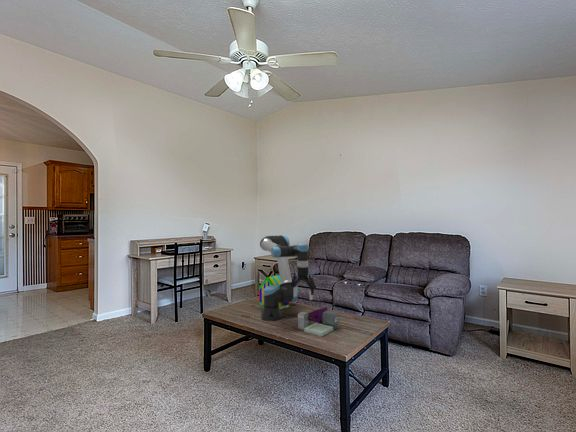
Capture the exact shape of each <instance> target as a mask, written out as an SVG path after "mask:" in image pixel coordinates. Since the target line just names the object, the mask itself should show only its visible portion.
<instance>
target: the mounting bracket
mask: <svg viewBox="0 0 576 432" xmlns="http://www.w3.org/2000/svg"><path fill="white" fill-rule="evenodd" d="M325 311H329V310H328V307H327V306H326V307H322V308H319V309H316V310H313V311H310V312H307V313H308V314H309V317H312V320H313V321H314V323H319V324H320V323H322V322H323V312H325Z"/></svg>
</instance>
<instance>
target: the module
mask: <svg viewBox="0 0 576 432" xmlns="http://www.w3.org/2000/svg"><path fill="white" fill-rule="evenodd" d="M308 313H309V312H305V311H301V312H298V313H297V328H298V329H300V330H303V331H304V328H306V327H308V326H309V317H310V316H309V314H308Z"/></svg>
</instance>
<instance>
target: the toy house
mask: <svg viewBox="0 0 576 432" xmlns="http://www.w3.org/2000/svg"><path fill="white" fill-rule="evenodd" d="M280 284H281V280H280V274H278V275H273V276H268V277H266V279H264V281H263V282H262V283H261V285H259V287H258V304H259V305H261V306H263V307H264V298H263V292H264V288H265V287H267V286H271V285H278V286H279V285H280ZM279 287H280V286H279ZM290 303H291V302H283V303H279V308H280V310H282V309H286V308H287V309H288V308H289V307H291V306H290Z"/></svg>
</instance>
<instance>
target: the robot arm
mask: <svg viewBox="0 0 576 432" xmlns="http://www.w3.org/2000/svg"><path fill="white" fill-rule="evenodd" d="M259 247H260V248H261V249H262V250H263V251H266V252H269V253H270V254H271V256H272V258H276V261H277V265H278V267H277V269H278V273H279V274H278V275H280V280H281V284H280V285H279V286H280V287H279V286H278V285H271V286H267V287H265V288H264V292H263V298H264V306H263V309H262V312H261V315H260V316H261V318H260V319H262V320H263V321H268V322H269V321H271V322H272V321H278V320H281V319H282V316H283V315H282V312H281V309H280V308H279V303H283V302H289V303H292V302H295V301H297V300H298V297H299V293H300V290H299V287H298V284H299V282H300V281H304V282H305V283H306V285H307V286H308V288H309V301H312V300H313V299H314V294H315V290H316V289H317V286H316V283H315V280H314V279H313V274H309V244H308V243H298V244H296V245H290V240H289V238H288V236H287V235H281V234H280V235H266V236H264V237H263V238H262V239H261V240H260V241H259ZM290 257H291V258H292V257H297V258H296V259H297V260H296V262H297V263H296V264H297V265H296V266H297V268H296V269H297V270H296V271H297V272H294V273H293V277H292V275H291V267H290V263H289V258H290Z"/></svg>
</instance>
